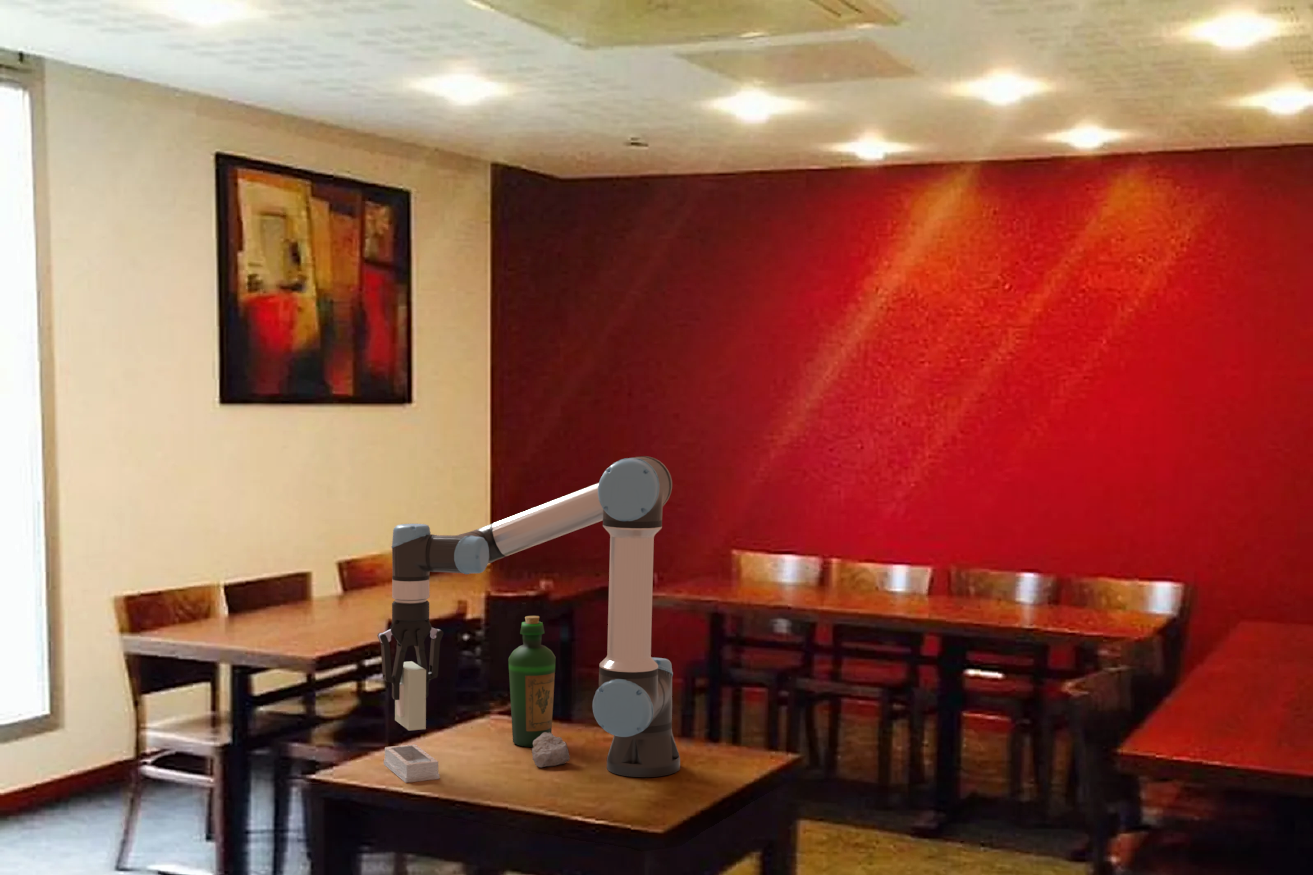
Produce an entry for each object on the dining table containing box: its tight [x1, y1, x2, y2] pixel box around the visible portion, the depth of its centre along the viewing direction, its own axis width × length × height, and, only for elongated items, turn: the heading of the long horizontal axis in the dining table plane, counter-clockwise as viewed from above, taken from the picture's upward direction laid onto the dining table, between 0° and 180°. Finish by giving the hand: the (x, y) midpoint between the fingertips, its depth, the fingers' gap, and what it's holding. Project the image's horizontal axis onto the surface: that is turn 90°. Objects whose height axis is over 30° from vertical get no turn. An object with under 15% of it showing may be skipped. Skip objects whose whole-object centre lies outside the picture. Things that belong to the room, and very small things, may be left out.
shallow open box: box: [383, 743, 440, 784], centre depth 303 cm, size 16×7×4 cm, turn 26°
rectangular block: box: [394, 660, 427, 731], centre depth 303 cm, size 10×4×12 cm, turn 26°
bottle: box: [507, 615, 557, 748], centre depth 327 cm, size 11×11×28 cm
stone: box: [531, 732, 570, 768], centre depth 311 cm, size 10×8×6 cm
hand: (410, 714), depth 303 cm, fingers closed on rectangular block, 3 cm apart
